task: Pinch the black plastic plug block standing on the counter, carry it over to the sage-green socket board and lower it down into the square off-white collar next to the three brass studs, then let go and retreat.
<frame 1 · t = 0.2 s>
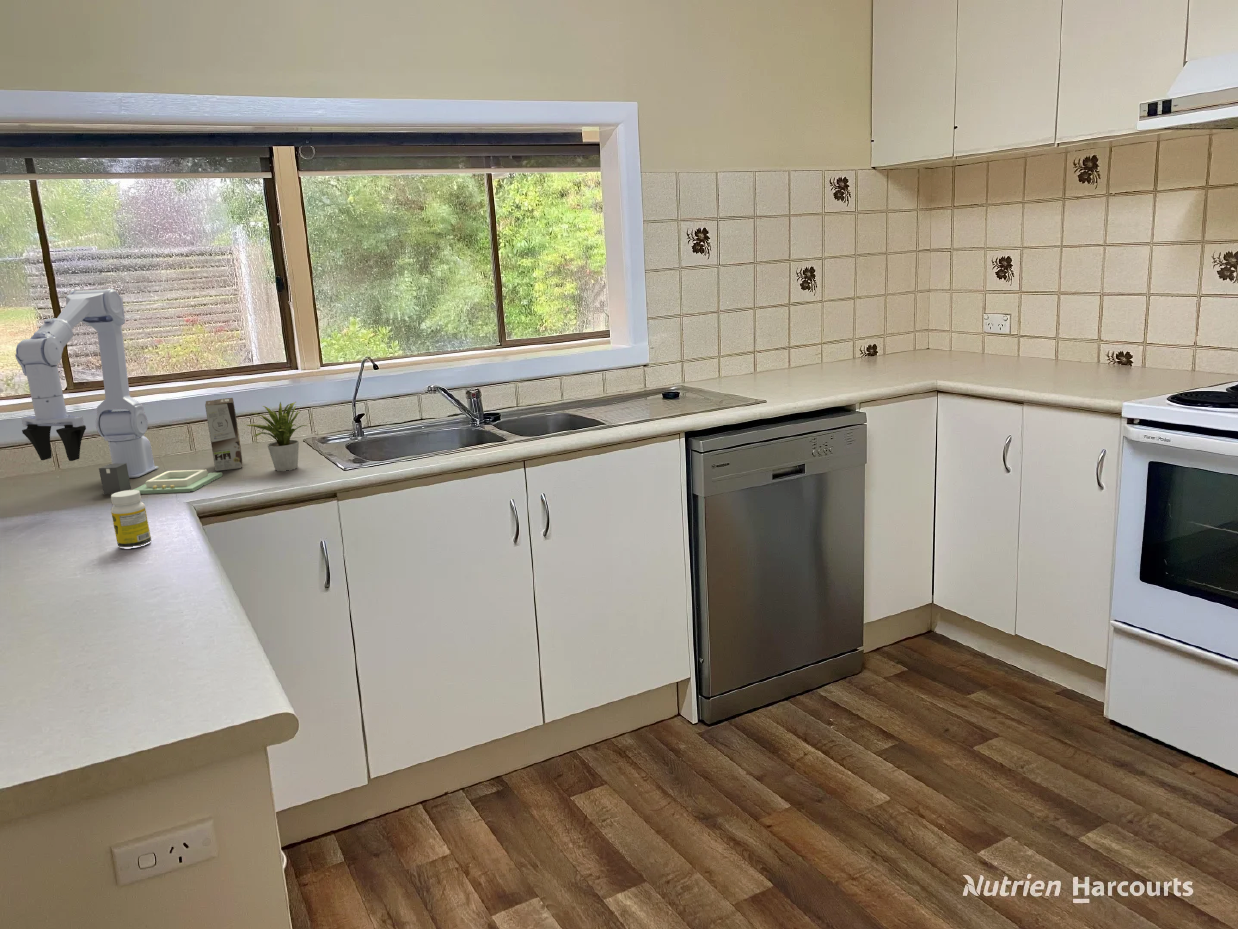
hand: (60, 459, 199), 10 cm above the worktop, tool pointing down, fingers open, 7 cm apart
supplement bottle: (135, 546, 170), on the worktop
coffee box: (229, 466, 230), on the worktop
socket board: (178, 484, 214), on the worktop
house plant: (286, 468, 225), on the worktop
plug block: (117, 491, 211), on the worktop
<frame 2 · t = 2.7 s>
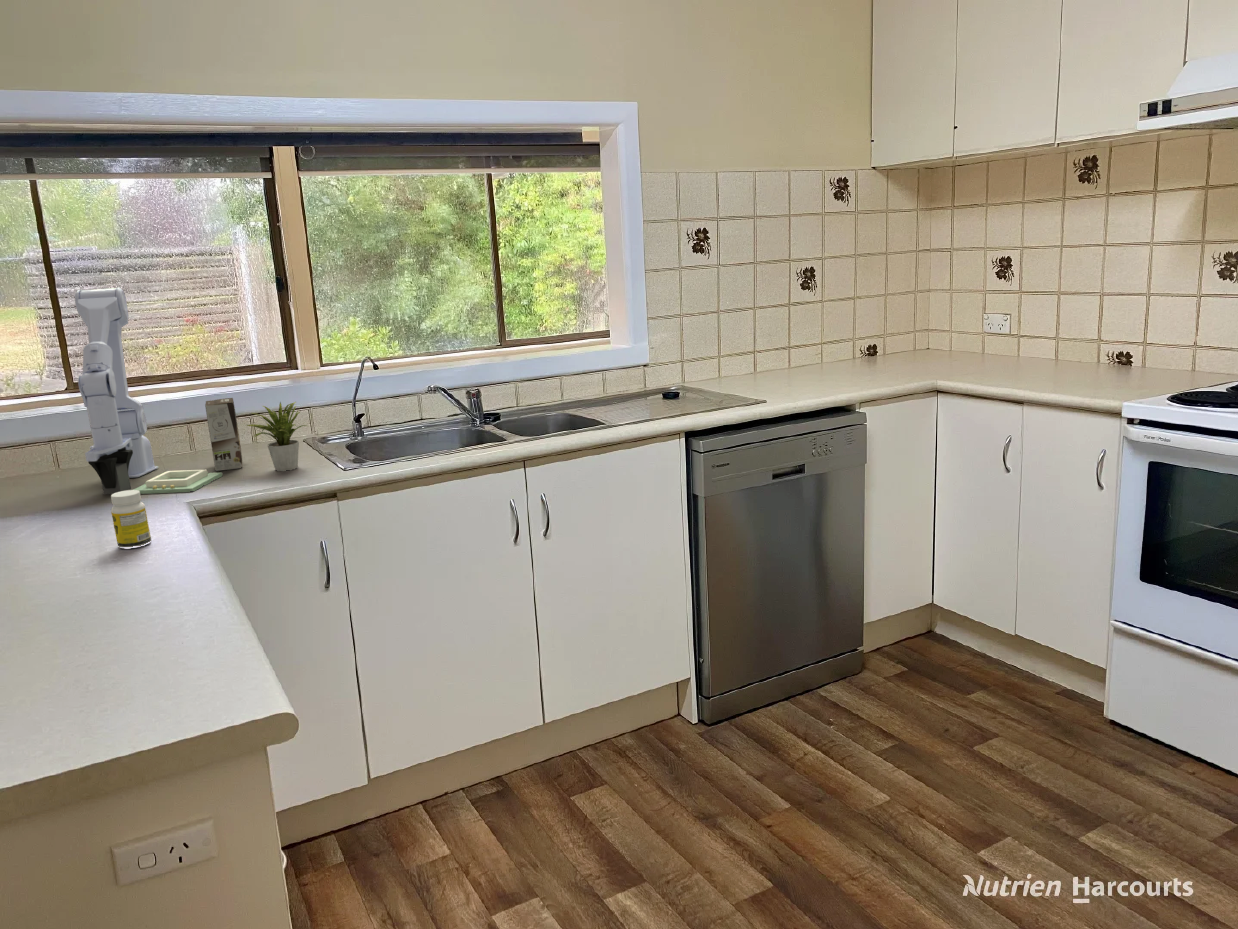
hand: (116, 485, 210), 1 cm above the worktop, tool pointing down, fingers closed on plug block, 4 cm apart
plug block: (117, 491, 211), on the worktop, touching gripper
everything else where it was.
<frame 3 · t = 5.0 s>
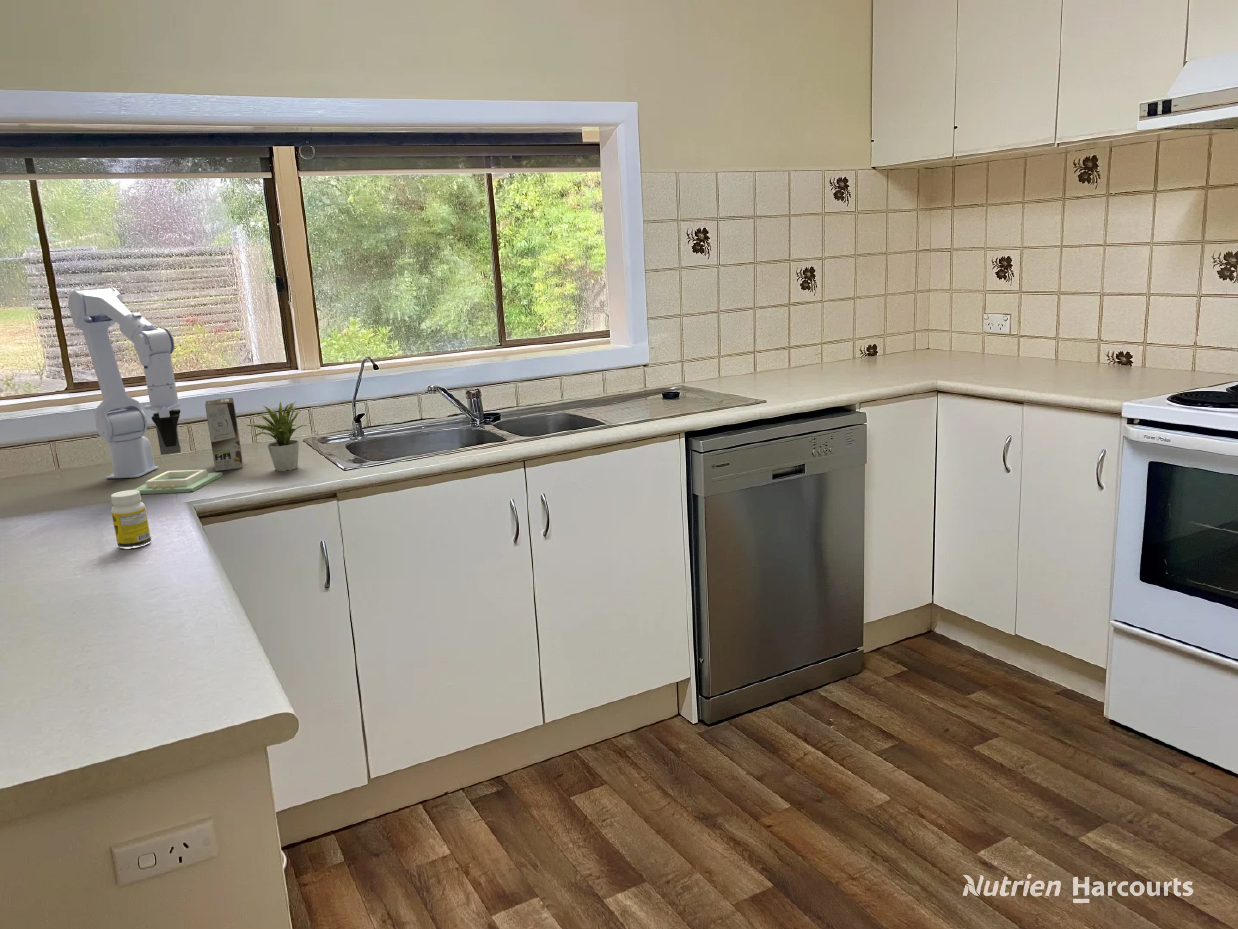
hand: (171, 444, 212), 9 cm above the worktop, tool pointing down, fingers closed on plug block, 4 cm apart
plug block: (171, 452, 212), point 8 cm above the worktop, touching gripper
everything else where it was.
when the fingers open (3 cm above the worktop, at t = 7.3 s): plug block stays where it is, resting on socket board.
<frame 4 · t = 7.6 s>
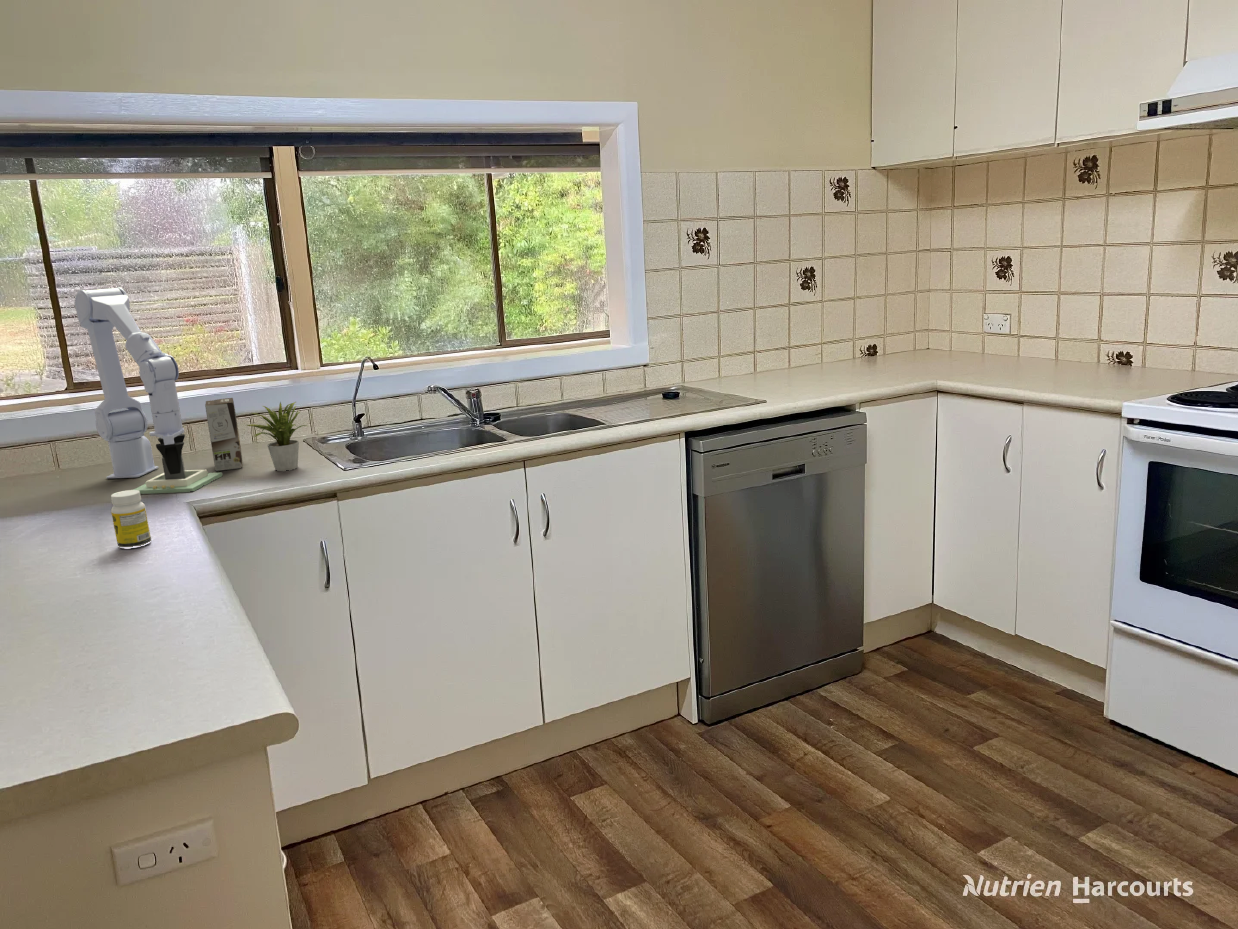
hand: (175, 470, 213), 3 cm above the worktop, tool pointing down, fingers open, 7 cm apart
plug block: (176, 481, 213), point 1 cm above the worktop, touching socket board
everything else where it was.
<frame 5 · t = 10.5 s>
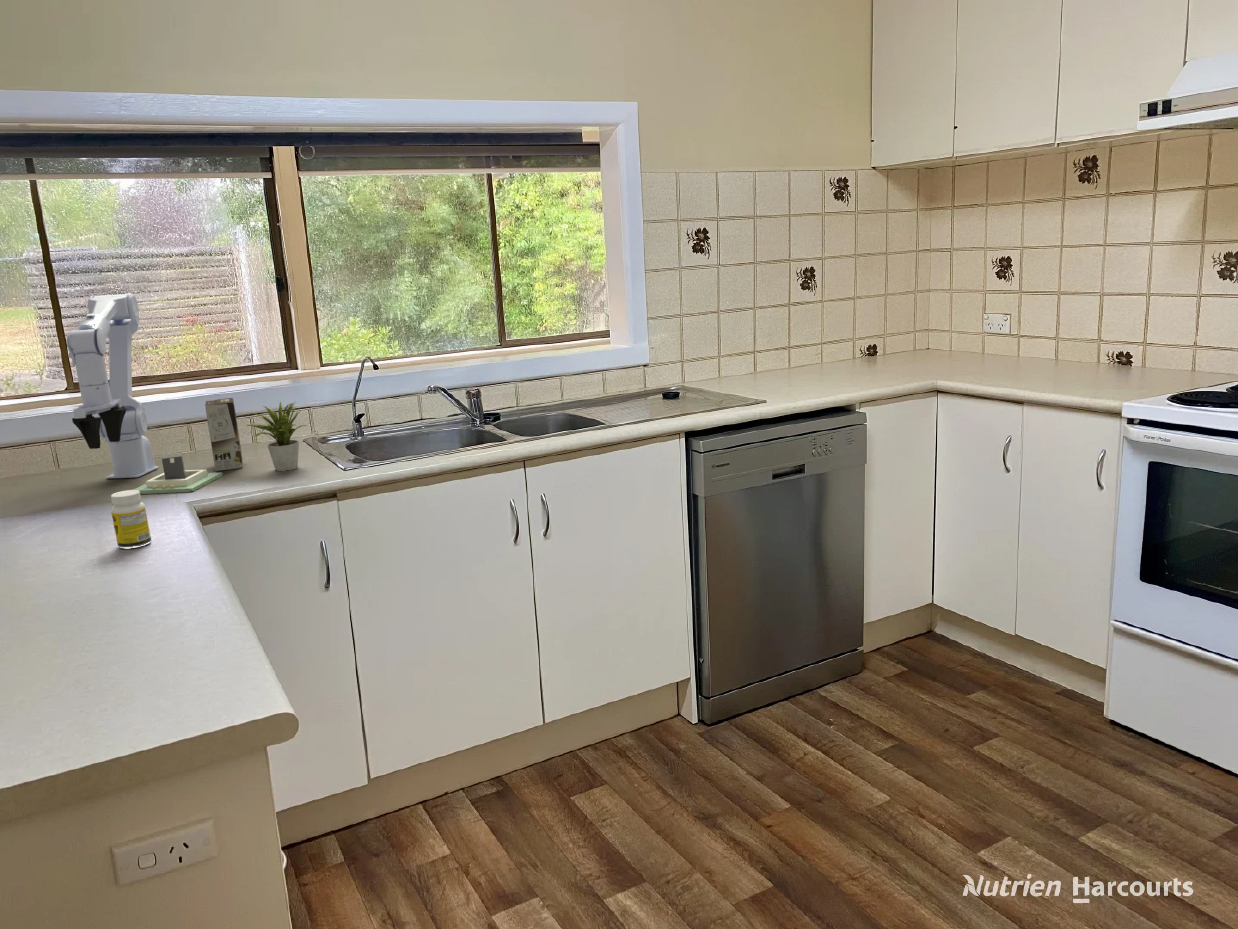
hand: (105, 444, 210), 10 cm above the worktop, tool pointing down, fingers open, 7 cm apart
nothing on the worktop moved.
at the end: plug block 0.3 cm off-centre on the socket board, point 0.8 cm above the socket board's base; plug block tilted 0°; the gripper is holding nothing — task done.
